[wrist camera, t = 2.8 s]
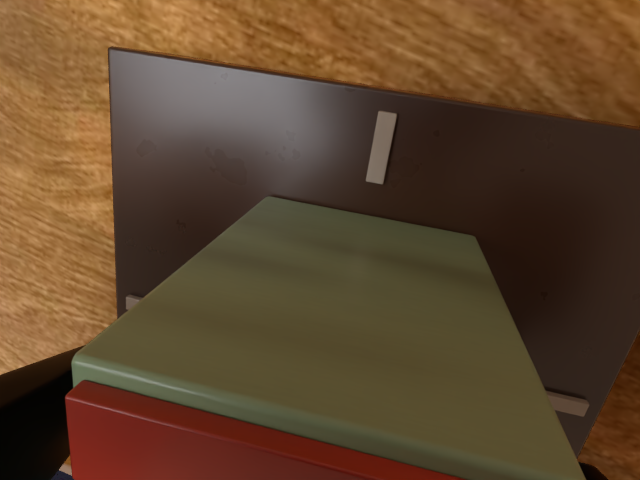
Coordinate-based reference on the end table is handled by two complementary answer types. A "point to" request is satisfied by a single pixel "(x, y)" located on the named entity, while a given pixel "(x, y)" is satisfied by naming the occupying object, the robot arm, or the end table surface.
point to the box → (317, 363)
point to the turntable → (391, 193)
